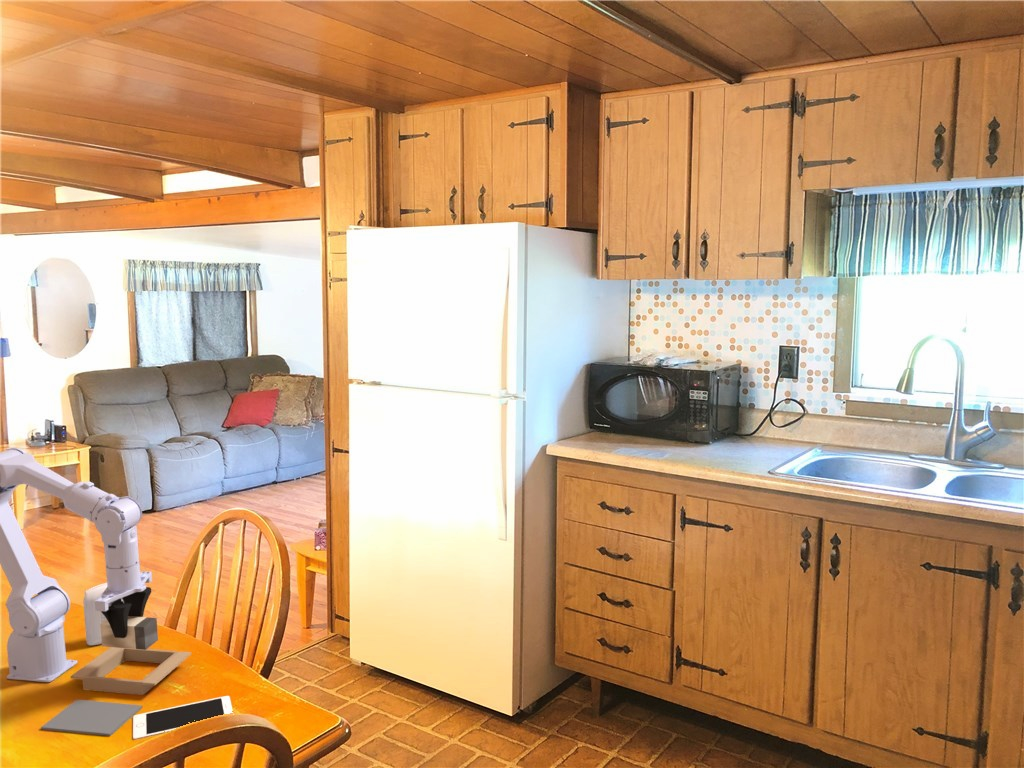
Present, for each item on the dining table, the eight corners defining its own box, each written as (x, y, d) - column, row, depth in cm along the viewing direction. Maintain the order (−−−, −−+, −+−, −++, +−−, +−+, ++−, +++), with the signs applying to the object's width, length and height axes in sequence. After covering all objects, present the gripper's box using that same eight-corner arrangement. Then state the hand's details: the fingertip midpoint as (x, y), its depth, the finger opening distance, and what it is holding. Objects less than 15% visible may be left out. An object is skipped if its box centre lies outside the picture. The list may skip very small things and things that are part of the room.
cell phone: (133, 718, 144) (133, 715, 144) (229, 698, 150) (229, 695, 150) (133, 742, 137) (132, 738, 137) (234, 719, 143) (233, 716, 143)
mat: (41, 729, 140) (41, 727, 140) (77, 701, 149) (76, 699, 149) (110, 736, 138) (109, 733, 138) (142, 707, 147) (142, 705, 147)
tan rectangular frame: (71, 688, 153) (70, 676, 153) (113, 657, 165) (112, 646, 165) (155, 696, 150) (154, 683, 150) (191, 664, 162) (191, 652, 162)
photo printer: (138, 628, 178) (133, 574, 176) (141, 636, 175) (137, 580, 173) (85, 640, 173) (80, 585, 171) (88, 648, 169) (82, 591, 167)
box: (102, 646, 155) (100, 623, 154) (115, 636, 159) (113, 614, 158) (145, 649, 153) (144, 627, 153) (158, 640, 157) (156, 618, 157)
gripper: (117, 579, 146) (123, 650, 148) (164, 550, 160) (169, 616, 162) (81, 577, 147) (88, 648, 149) (131, 549, 161) (136, 614, 163)
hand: (128, 631), depth 156 cm, fingers closed on box, 4 cm apart
